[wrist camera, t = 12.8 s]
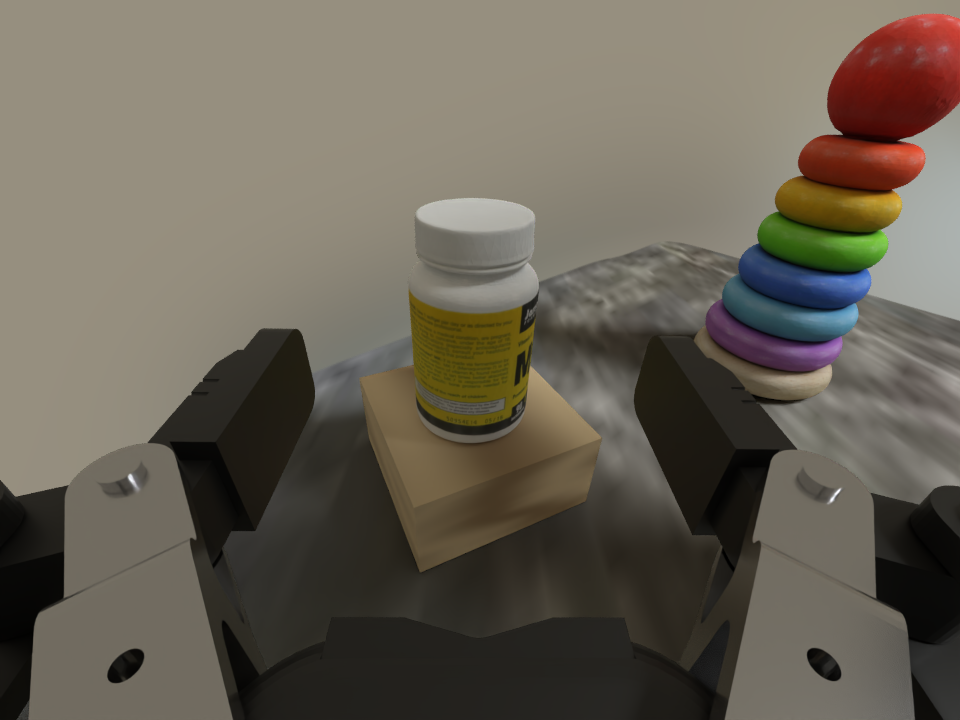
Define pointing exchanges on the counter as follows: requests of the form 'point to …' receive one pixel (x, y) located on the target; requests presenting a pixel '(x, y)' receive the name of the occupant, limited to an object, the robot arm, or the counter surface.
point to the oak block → (476, 468)
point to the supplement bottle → (472, 316)
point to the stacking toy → (835, 213)
